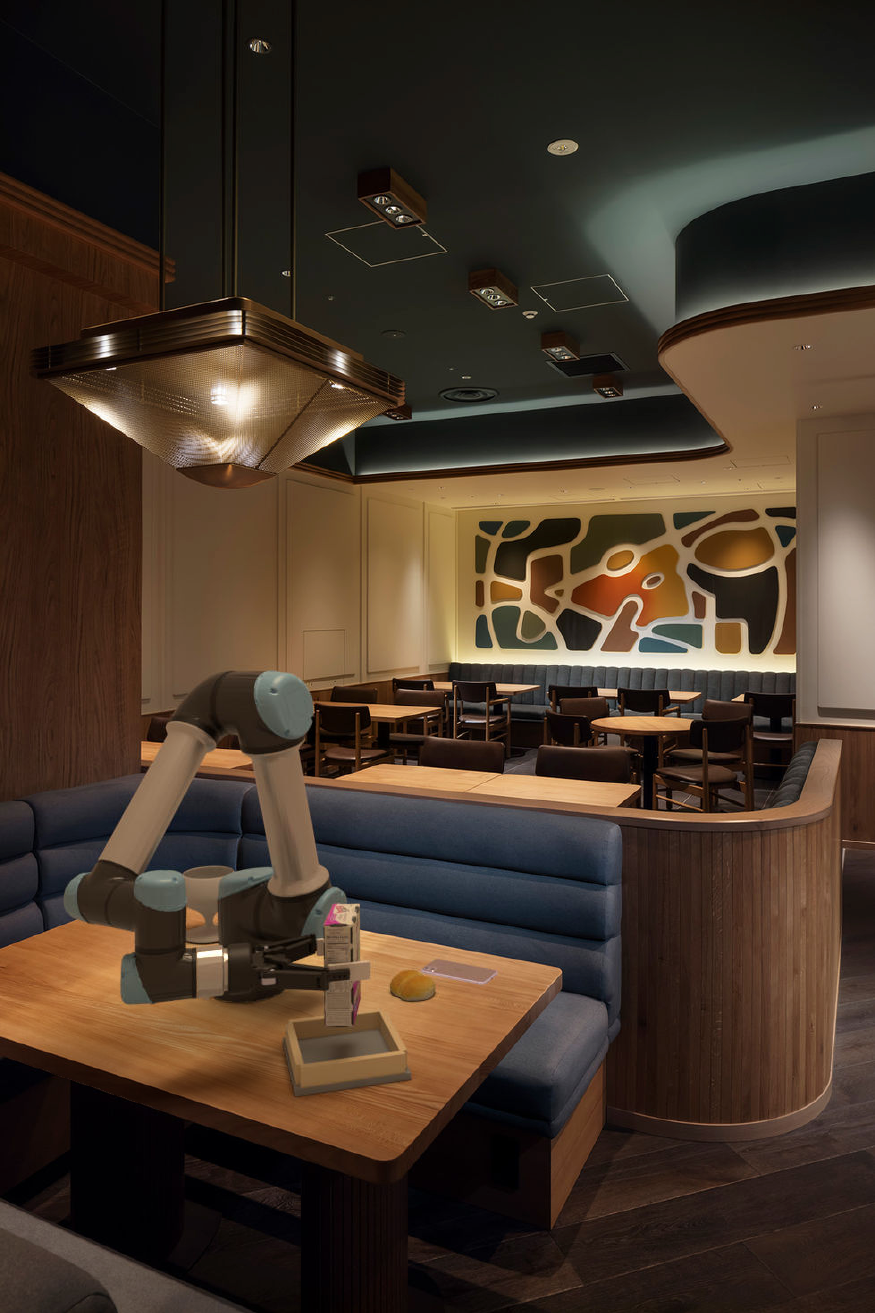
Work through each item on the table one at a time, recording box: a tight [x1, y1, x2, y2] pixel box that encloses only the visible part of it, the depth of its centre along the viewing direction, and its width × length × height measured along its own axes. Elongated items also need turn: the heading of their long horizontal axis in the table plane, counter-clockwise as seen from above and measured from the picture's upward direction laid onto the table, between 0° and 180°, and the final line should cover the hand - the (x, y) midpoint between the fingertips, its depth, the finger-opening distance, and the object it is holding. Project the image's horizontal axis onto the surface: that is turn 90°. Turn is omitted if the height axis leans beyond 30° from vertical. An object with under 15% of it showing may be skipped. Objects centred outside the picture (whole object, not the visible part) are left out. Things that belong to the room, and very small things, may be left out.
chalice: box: [182, 865, 236, 944], centre depth 199 cm, size 14×14×15 cm
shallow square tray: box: [282, 1008, 412, 1097], centre depth 139 cm, size 18×18×4 cm
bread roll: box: [389, 969, 436, 1002], centre depth 166 cm, size 8×9×4 cm
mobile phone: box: [420, 958, 498, 985], centre depth 176 cm, size 8×1×15 cm
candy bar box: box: [323, 903, 362, 1027], centre depth 138 cm, size 11×5×16 cm, turn 179°
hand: (362, 956), depth 139 cm, fingers closed on candy bar box, 12 cm apart
